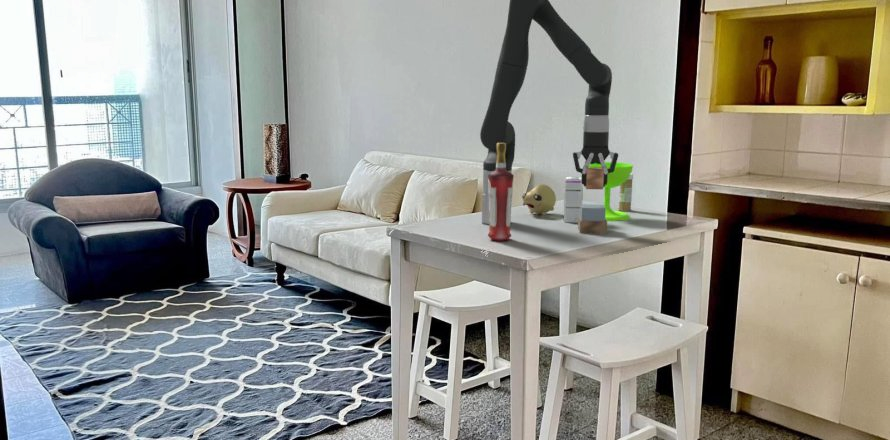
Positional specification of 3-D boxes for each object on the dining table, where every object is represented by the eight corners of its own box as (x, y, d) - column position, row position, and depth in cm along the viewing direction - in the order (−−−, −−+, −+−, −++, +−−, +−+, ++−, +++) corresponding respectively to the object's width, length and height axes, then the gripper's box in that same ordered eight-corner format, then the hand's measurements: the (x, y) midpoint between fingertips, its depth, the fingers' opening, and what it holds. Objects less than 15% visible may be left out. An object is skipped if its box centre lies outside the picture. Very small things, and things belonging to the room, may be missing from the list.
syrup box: (581, 223, 239) (583, 179, 236) (563, 222, 240) (564, 178, 237) (581, 220, 244) (583, 176, 241) (564, 219, 245) (565, 176, 243)
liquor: (485, 237, 215) (486, 142, 210) (510, 236, 216) (512, 142, 211) (488, 242, 208) (490, 144, 203) (514, 242, 209) (516, 144, 204)
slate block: (581, 220, 222) (582, 207, 221) (580, 216, 229) (581, 204, 228) (605, 221, 221) (605, 208, 220) (603, 217, 228) (603, 204, 227)
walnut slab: (579, 233, 222) (580, 221, 222) (578, 228, 230) (578, 216, 230) (606, 234, 222) (607, 221, 221) (603, 229, 229) (604, 217, 229)
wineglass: (632, 221, 241) (635, 167, 238) (583, 220, 244) (585, 166, 241) (628, 213, 257) (630, 162, 254) (582, 212, 259) (584, 161, 256)
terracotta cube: (586, 189, 221) (587, 169, 220) (585, 187, 226) (585, 167, 225) (603, 189, 220) (603, 169, 219) (601, 187, 225) (602, 167, 224)
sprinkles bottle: (616, 209, 265) (618, 172, 263) (628, 209, 266) (630, 172, 263) (620, 211, 261) (622, 174, 258) (633, 211, 261) (635, 174, 259)
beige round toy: (516, 214, 253) (517, 184, 251) (538, 210, 261) (539, 181, 259) (539, 218, 246) (540, 187, 244) (560, 214, 255) (561, 184, 253)
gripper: (572, 130, 217) (571, 187, 220) (621, 131, 216) (619, 188, 219) (571, 129, 225) (569, 184, 228) (618, 129, 223) (616, 184, 226)
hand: (594, 185), depth 223 cm, fingers closed on terracotta cube, 5 cm apart
